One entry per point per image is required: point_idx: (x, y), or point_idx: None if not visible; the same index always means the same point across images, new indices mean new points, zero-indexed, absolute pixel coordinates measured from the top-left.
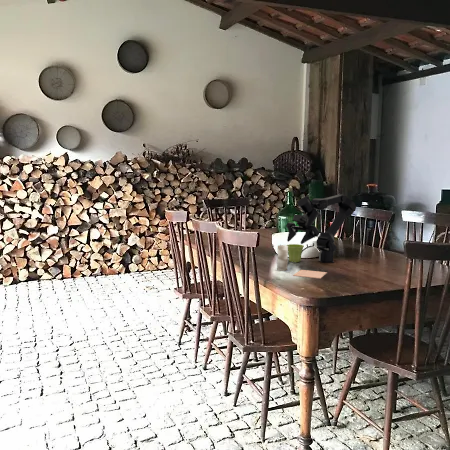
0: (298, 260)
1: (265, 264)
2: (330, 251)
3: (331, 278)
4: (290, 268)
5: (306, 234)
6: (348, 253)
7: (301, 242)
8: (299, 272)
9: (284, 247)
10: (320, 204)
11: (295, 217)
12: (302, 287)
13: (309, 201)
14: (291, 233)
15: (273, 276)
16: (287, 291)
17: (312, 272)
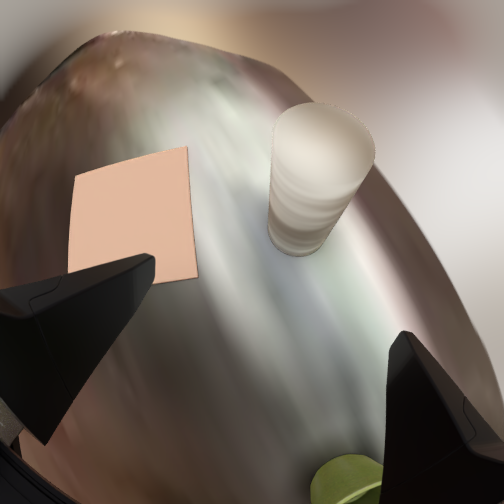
0: (315, 478)
1: (438, 297)
2: None
3: (45, 208)
4: (275, 290)
5: (16, 294)
6: None
7: (139, 256)
8: (178, 208)
9: (284, 114)
10: None
11: None
12: (119, 67)
13: None
14: (436, 446)
15: (257, 100)
16: (149, 33)
17: (120, 249)
